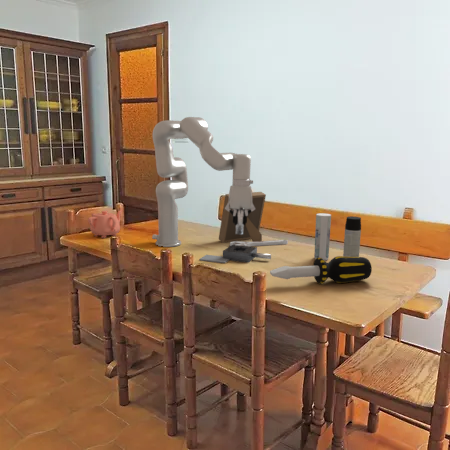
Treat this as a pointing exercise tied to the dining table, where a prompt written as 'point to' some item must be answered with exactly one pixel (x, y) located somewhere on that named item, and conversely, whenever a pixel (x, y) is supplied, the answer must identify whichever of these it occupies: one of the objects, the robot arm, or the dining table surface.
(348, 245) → the spray can
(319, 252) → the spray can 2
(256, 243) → the wrench
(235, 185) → the robot arm
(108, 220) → the teapot
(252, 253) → the block
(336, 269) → the screwdriver
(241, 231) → the key
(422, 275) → the dining table surface
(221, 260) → the mat
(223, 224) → the photo frame
